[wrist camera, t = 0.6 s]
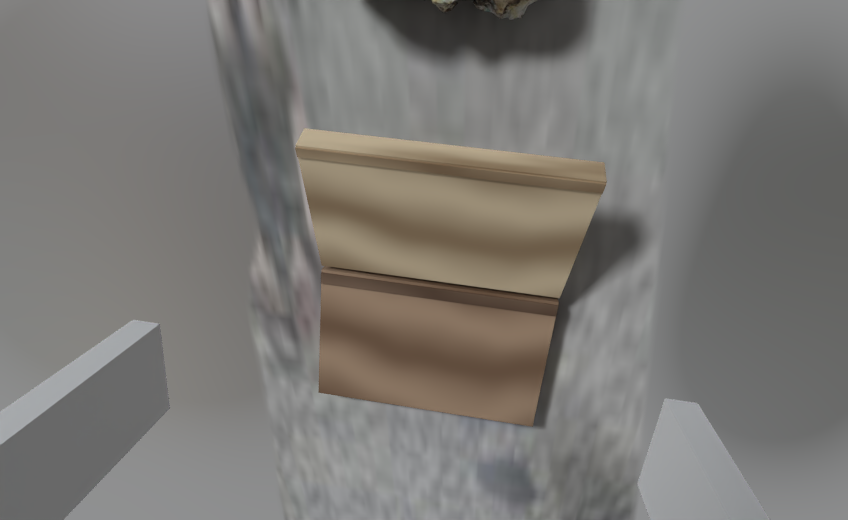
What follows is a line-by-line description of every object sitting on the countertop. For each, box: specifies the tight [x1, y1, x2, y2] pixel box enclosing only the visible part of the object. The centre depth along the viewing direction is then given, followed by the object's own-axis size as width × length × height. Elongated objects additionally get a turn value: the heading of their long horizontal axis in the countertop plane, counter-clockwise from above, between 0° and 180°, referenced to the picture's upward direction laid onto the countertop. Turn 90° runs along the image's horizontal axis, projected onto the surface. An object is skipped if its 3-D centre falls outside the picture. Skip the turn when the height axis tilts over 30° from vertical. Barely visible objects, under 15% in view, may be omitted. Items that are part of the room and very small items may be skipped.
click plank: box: [295, 128, 607, 298], centre depth 30 cm, size 10×16×2 cm
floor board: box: [319, 266, 559, 427], centre depth 35 cm, size 10×16×2 cm, turn 84°
